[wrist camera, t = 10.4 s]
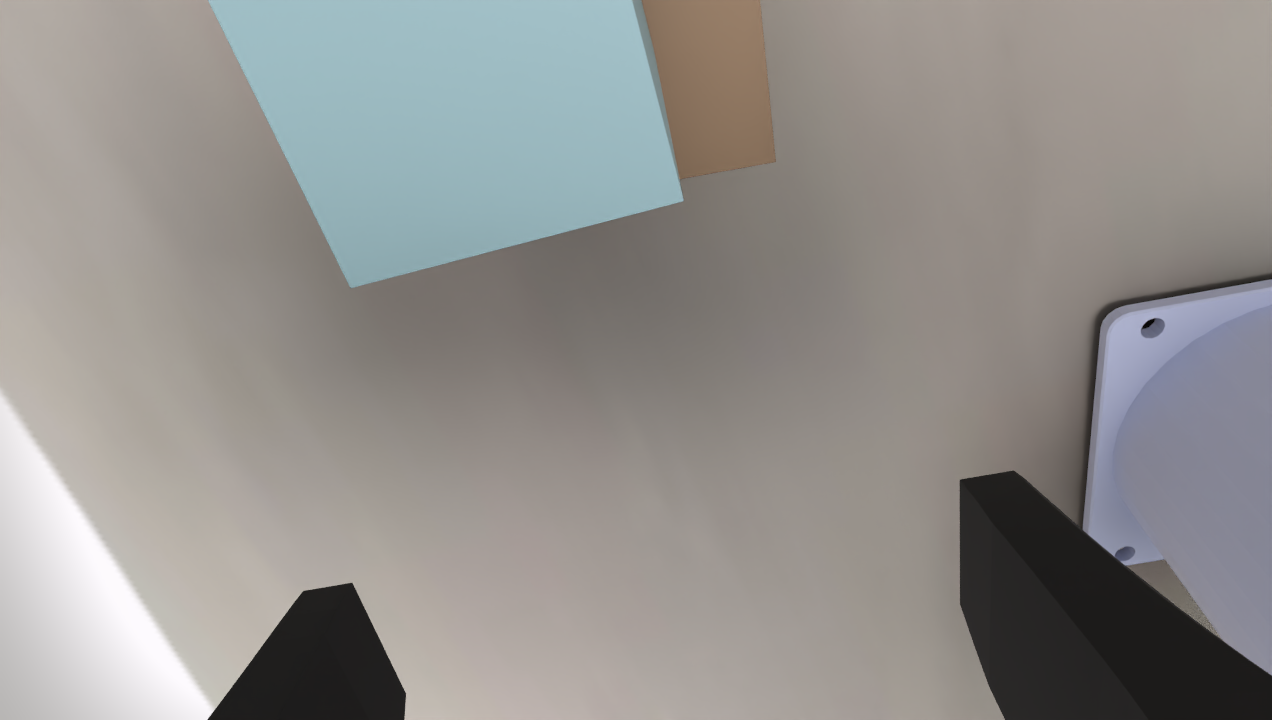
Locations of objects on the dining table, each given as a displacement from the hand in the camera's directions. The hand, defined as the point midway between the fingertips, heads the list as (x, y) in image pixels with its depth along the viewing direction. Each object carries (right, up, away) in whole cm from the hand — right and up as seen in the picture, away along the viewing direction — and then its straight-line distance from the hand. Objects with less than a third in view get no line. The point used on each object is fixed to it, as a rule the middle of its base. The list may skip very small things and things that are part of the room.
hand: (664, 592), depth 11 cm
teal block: (-3, +9, +3) cm, 10 cm away
